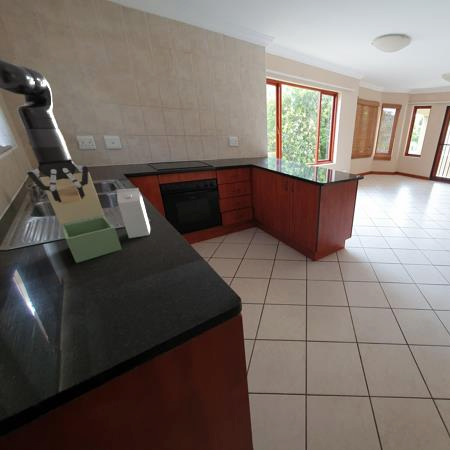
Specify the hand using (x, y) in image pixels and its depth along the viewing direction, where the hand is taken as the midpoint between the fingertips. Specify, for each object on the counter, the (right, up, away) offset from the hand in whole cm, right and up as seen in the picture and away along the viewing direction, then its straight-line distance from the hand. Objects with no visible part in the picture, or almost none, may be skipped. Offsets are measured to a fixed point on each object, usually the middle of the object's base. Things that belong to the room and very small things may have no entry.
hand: (71, 199), depth 77 cm
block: (0, 0, 0) cm, 0 cm away
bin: (-1, -17, +10) cm, 19 cm away
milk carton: (+8, -12, +22) cm, 26 cm away
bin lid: (-6, +2, +8) cm, 10 cm away
